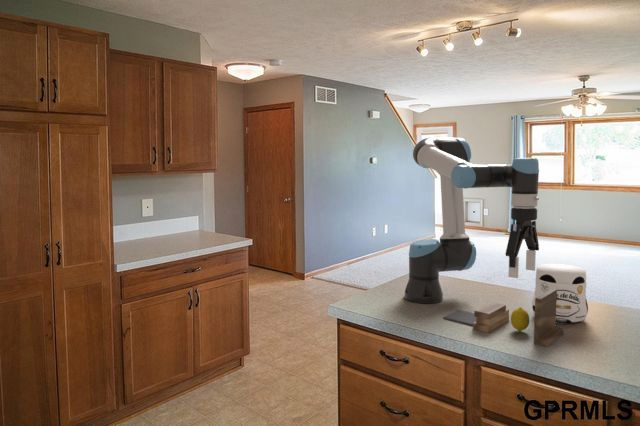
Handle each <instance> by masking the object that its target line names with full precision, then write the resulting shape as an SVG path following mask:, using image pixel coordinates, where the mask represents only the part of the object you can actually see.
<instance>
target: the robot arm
mask: <svg viewBox="0 0 640 426" xmlns="http://www.w3.org/2000/svg"><path fill="white" fill-rule="evenodd" d="M412 157H413V160H414V162H415V163H416V164H417V165H418V166H419V167H422V168H423V169H431V170H433V171H435V172H436V173H437V174H438V175H439V176H440V177H439V178H440V194H441V195H440V196H441V198H440V199H441V215H442V218H441V219H442V234H441V235H440V237H439V240H438V239H436V238H427V239H425V238H424V239H419V240H415V241H413V242H411V244H410V245H409V250H408V281H407V284H406V286H405V289H404V299H405V300H407V301H410V302H412V301H413V302H412V303H418V304H437V303H439V302H442V301H443V300H444V293H443V290H442V287H441V283H440V280H439V275H440V272H441V273H442V272H455V271H459V272H461V271H466V270H469V269H471V268H472V267H473V265H475V262H476V260H477V249H476V248H477V247H476V245H475V243H474V242H473V241H471V240H470V236H469V235H468V234H466V226H465V225H466V223H465V222H466V221H465V206H464V204H465V203H464V191H463V190H464V189H466V190H467V189H475V188H476V189H477V188H479V189H480V188H511V201H510V205H511V209H510V218H511V220H514V221H515V223H511V224H510V232H509V236H508V241H507V245H506V250H505V256H506V257H508V274H507V276H508V278H513V279H514V278H515V279H518V278H519V267H520V263H519V261H520V257H519V256H518V255H519V254H520V253H519V252H520V249H521V246H522V244H523V241H524V242H525V244H526V248H527V249H526V252H525V253H526V254H525V270H526V271H532V272H533V271H535V272H536V253H537V251H539V250H540V245H539V239H538V233H537V222H536V221H537V219H538V209H537V207H538V201H539V200H540V197H539V195H538V192H539V177H540V176H539V172H540V167H539V163H540V162H539V159H538V158H537V157H514V158H513V160H512V163H511V164H509V163H507V164H505V163H497V164H475V163H471V159H472V149H471V146H470V144H469V142H468V141H466V139H464V138H462V137H427V138H424V139H421V140H420V141H418V142H417V143H416V145H414V148H413V150H412Z"/></svg>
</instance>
